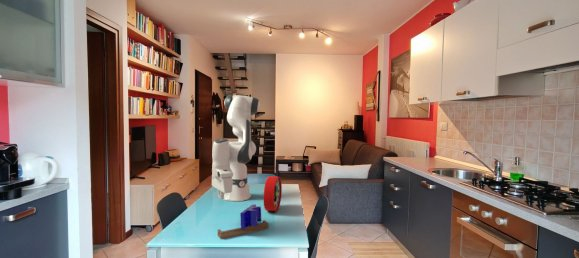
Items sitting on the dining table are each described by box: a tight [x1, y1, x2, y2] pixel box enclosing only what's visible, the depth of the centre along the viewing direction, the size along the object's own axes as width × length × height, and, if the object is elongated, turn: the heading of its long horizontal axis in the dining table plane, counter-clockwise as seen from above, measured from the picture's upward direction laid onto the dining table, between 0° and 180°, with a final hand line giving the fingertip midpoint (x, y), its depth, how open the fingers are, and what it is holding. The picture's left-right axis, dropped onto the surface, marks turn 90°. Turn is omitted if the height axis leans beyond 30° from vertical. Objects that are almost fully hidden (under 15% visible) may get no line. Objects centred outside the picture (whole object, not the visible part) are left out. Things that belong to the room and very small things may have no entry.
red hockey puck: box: [262, 175, 283, 212], centre depth 167 cm, size 20×6×20 cm, turn 168°
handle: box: [217, 220, 269, 240], centre depth 133 cm, size 4×24×4 cm, turn 122°
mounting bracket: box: [239, 204, 263, 229], centre depth 138 cm, size 18×7×6 cm
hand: (221, 198), depth 142 cm, fingers closed
